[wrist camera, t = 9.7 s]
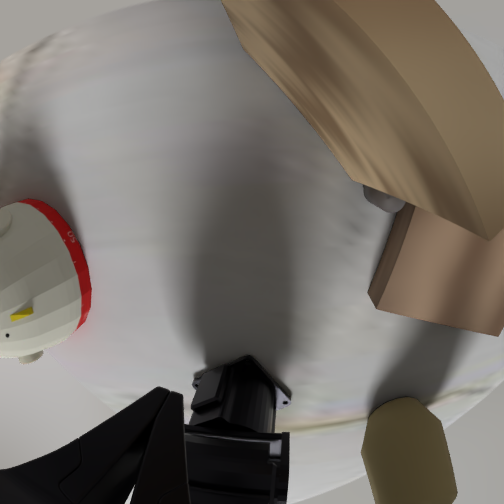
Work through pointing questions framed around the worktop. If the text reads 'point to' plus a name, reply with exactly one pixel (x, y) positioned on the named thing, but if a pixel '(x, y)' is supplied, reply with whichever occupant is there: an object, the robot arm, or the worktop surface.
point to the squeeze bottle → (407, 455)
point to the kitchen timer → (39, 280)
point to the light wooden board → (389, 99)
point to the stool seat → (441, 273)
